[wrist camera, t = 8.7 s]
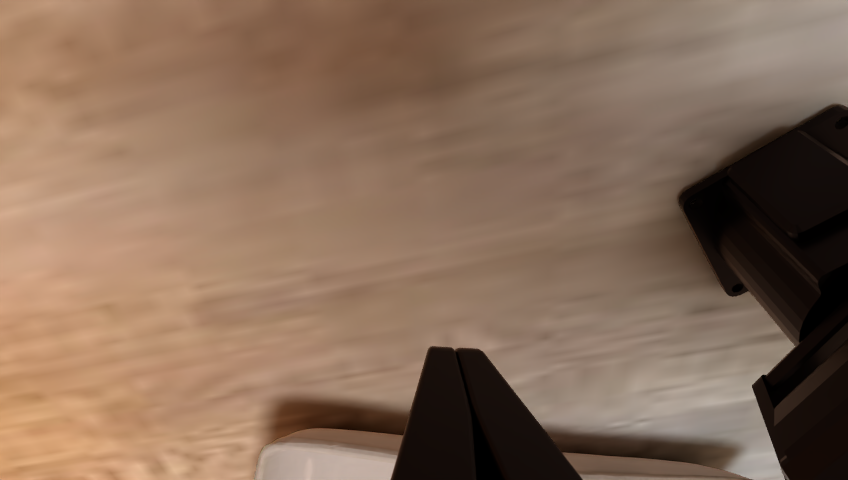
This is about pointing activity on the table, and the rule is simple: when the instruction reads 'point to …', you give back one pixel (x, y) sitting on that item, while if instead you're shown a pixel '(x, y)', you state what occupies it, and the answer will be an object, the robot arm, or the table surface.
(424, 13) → the table surface
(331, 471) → the square plate
